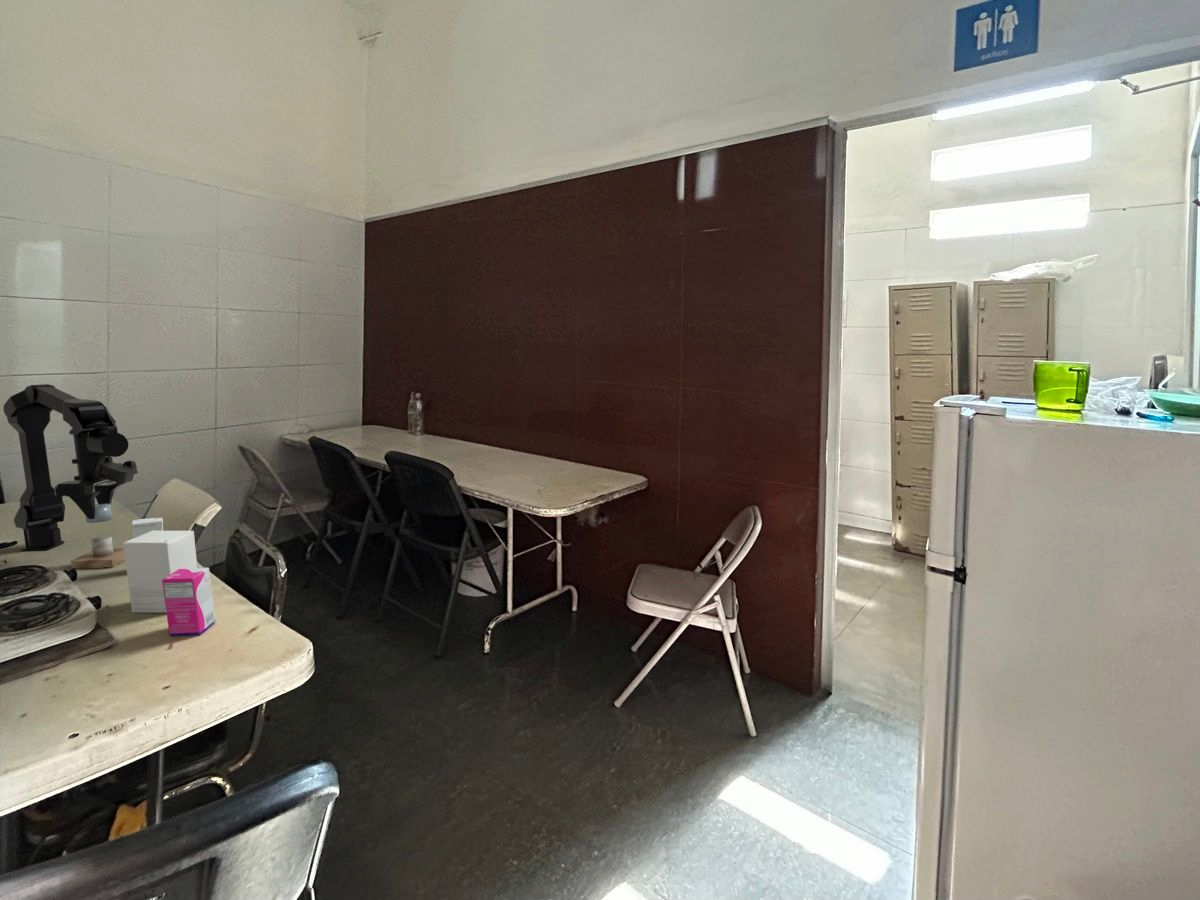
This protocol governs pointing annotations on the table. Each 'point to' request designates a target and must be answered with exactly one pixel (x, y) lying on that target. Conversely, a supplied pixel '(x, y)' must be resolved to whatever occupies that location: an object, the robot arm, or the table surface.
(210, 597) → the supplement box
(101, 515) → the smooth rounded gray lump
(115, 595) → the table surface
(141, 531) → the skincare box
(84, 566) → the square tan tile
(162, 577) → the supplement box
